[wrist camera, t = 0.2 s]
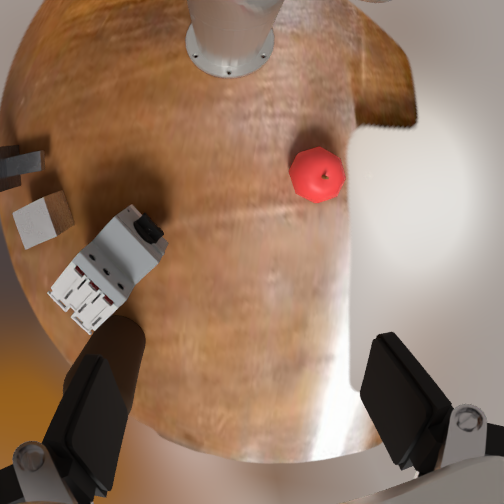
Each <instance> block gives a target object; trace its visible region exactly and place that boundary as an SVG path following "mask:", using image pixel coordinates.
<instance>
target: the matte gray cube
mask: <svg viewBox="0 0 504 504" xmlns="http://www.w3.org/2000/svg"><path fill="white" fill-rule="evenodd" d="M12 214H13V217H14V220H15V223H16V225H17V228H18V231H19V234H20V237H21V239H22V242H23V245H24V247H25V250H26V249H28V248H30V247H32V246H35V245H37V244H39V243H42V242H44V241H47V240H49V239H51V238H54V237H56V236H58V235H60V234H61V233H63V232H64V231H66V230H67V229H69V228H70V227H72V226H74V225H75V224H74V221H73V218H72V215H71V212H70V209H69V206H68V203H67V200H66V197H65V194H64V191H63V190H61V191H58V192H56V193H53V194H50V195H47V196H45V197H42V198H40V199H38V200H36V201H34V202H32V203H31V204H29V205H27V206H25V207H23V208H21V209H19V210H17V211H15V212H14V213H12Z"/></svg>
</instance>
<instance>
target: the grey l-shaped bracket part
mask: <svg viewBox="0 0 504 504" xmlns="http://www.w3.org/2000/svg"><path fill="white" fill-rule="evenodd" d="M42 170H45V157H44V150H43V151H37V152H32V153H27V154H23V155H19V145H13V146H2V147H0V192H2V191H5V190H8V189H11V188H14V187H18V186H21V178H20V174H25V173H31V172H36V171H42Z"/></svg>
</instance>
